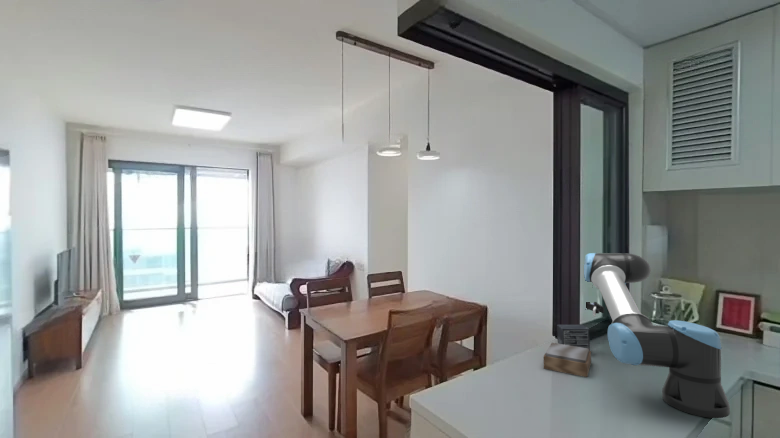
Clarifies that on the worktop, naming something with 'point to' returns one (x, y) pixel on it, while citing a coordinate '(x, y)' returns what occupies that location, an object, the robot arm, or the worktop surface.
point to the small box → (574, 335)
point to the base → (568, 359)
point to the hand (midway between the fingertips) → (575, 311)
